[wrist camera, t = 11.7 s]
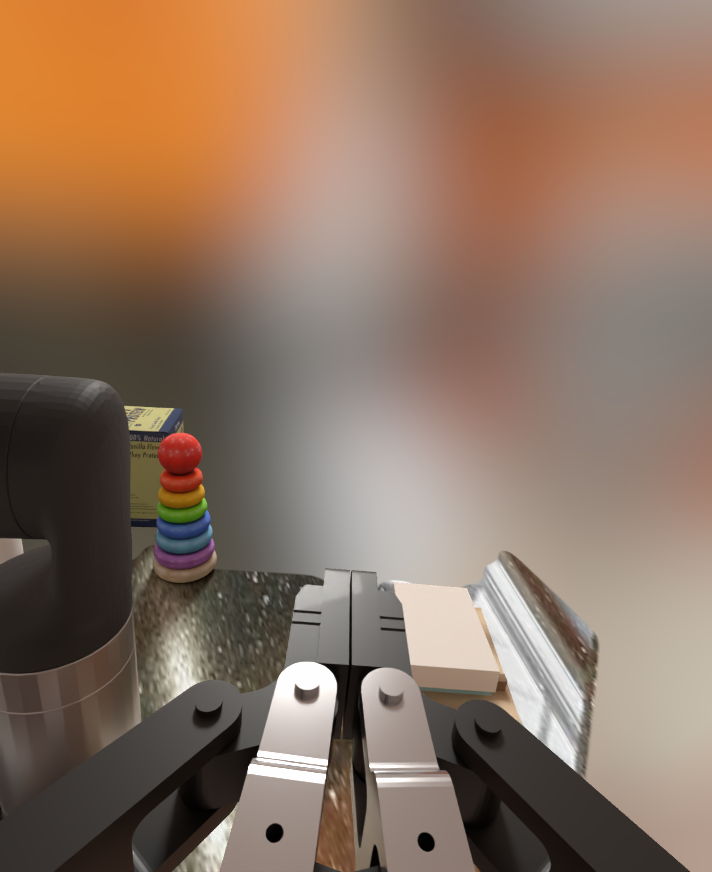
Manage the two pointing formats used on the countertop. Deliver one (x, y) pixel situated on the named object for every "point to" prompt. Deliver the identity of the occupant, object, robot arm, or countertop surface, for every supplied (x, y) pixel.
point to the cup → (10, 549)
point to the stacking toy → (182, 514)
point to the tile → (446, 640)
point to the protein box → (148, 458)
